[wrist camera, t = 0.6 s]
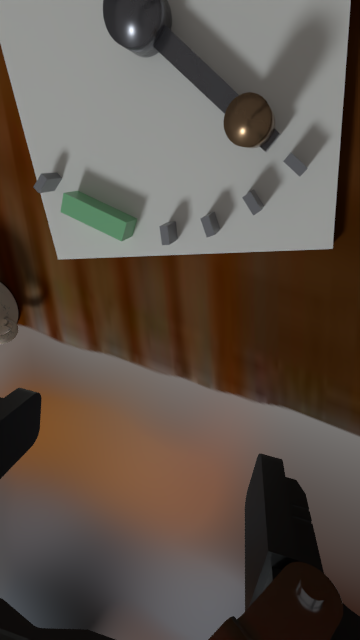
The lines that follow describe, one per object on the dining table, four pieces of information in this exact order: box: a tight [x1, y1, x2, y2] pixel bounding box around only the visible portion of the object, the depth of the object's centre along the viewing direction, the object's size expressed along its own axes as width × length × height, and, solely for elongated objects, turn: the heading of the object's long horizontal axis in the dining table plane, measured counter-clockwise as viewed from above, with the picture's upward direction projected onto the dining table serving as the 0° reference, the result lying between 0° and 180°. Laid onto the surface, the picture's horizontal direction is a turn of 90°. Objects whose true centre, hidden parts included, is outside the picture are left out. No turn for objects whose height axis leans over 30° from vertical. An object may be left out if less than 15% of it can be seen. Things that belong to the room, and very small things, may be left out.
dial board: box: [0, 0, 351, 259], centre depth 30 cm, size 24×30×4 cm
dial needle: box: [103, 0, 281, 152], centre depth 25 cm, size 16×4×6 cm, turn 52°
